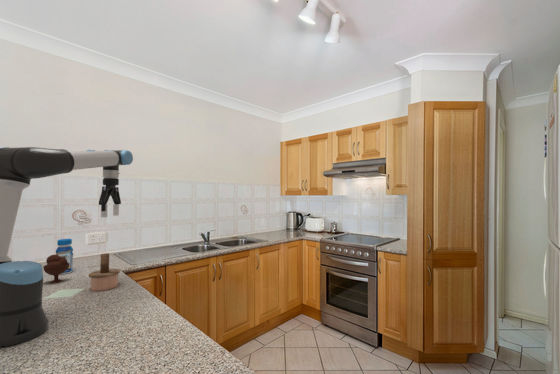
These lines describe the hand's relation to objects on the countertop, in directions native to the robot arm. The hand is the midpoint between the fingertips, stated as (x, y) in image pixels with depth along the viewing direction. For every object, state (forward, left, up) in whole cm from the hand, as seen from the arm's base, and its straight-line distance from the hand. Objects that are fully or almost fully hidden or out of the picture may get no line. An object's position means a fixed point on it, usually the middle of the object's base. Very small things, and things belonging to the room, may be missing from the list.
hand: (110, 216), depth 145 cm
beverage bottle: (+20, +34, -35) cm, 53 cm away
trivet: (-20, +10, -35) cm, 41 cm away
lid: (-14, -4, -28) cm, 31 cm away
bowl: (-14, -4, -35) cm, 38 cm away
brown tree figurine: (0, +26, -35) cm, 44 cm away
